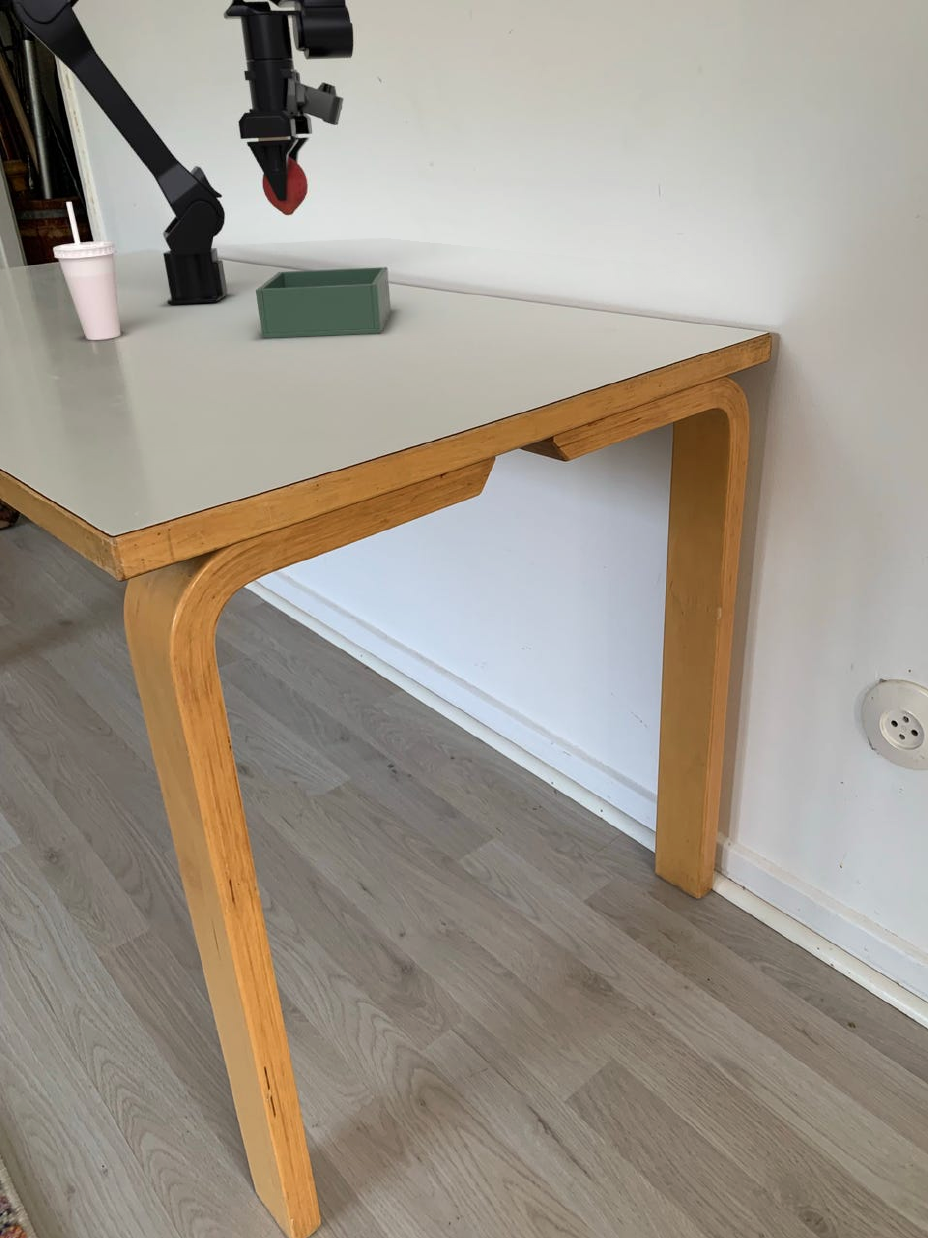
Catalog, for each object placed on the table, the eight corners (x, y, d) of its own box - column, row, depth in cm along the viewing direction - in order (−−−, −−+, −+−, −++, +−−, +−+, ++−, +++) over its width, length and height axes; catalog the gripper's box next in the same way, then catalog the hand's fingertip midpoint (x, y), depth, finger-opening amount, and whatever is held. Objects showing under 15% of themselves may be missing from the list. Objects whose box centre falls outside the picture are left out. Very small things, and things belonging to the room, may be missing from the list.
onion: (312, 215, 124) (305, 146, 120) (268, 218, 123) (259, 149, 119) (308, 211, 129) (300, 146, 125) (265, 215, 128) (256, 148, 124)
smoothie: (70, 335, 109) (39, 202, 102) (127, 327, 111) (100, 197, 105) (77, 344, 104) (45, 205, 97) (137, 336, 106) (110, 200, 100)
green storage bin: (262, 338, 103) (255, 289, 100) (284, 315, 114) (278, 271, 112) (380, 333, 102) (376, 284, 100) (390, 311, 113) (387, 266, 111)
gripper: (325, 53, 109) (339, 201, 116) (343, 61, 126) (354, 190, 133) (228, 58, 109) (249, 206, 117) (259, 65, 126) (275, 194, 133)
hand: (286, 198), depth 125 cm, fingers closed on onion, 6 cm apart
